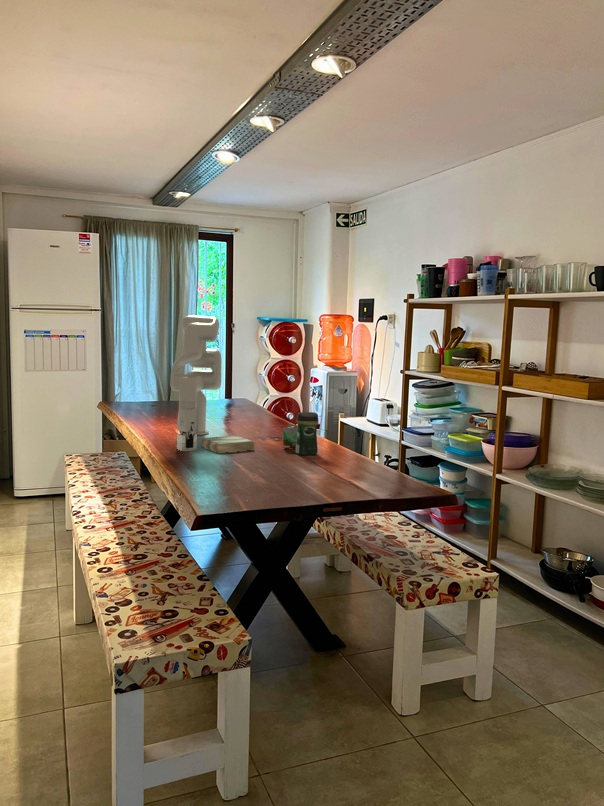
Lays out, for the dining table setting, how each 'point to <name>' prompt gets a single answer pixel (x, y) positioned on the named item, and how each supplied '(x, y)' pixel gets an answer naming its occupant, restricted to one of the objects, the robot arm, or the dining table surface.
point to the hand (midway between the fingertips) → (186, 446)
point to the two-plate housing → (182, 442)
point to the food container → (290, 436)
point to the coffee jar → (307, 433)
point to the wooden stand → (227, 444)
